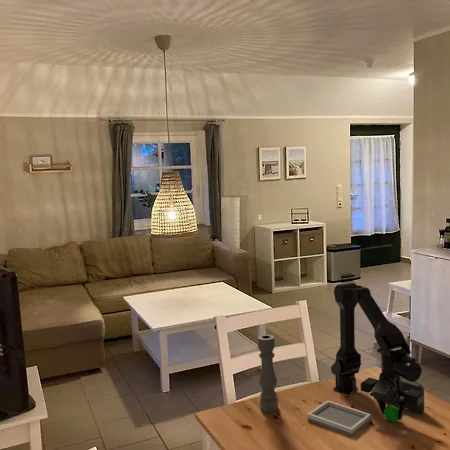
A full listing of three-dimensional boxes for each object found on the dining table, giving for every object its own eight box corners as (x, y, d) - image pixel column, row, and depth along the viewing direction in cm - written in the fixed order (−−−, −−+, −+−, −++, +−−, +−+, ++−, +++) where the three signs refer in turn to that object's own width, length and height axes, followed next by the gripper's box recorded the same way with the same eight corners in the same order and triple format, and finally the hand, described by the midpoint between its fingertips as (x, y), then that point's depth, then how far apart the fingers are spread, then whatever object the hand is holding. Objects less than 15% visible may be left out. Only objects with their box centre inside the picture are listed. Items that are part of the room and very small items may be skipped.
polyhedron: (398, 426, 154) (397, 411, 154) (382, 422, 157) (381, 408, 156) (401, 419, 158) (401, 404, 158) (386, 415, 161) (385, 401, 160)
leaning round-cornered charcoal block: (429, 410, 163) (429, 383, 162) (422, 415, 160) (422, 387, 159) (385, 395, 175) (385, 369, 174) (378, 399, 172) (377, 373, 171)
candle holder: (257, 411, 169) (254, 339, 166) (263, 402, 174) (260, 333, 172) (275, 413, 166) (272, 340, 164) (280, 405, 172) (277, 334, 169)
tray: (307, 420, 161) (307, 413, 160) (327, 406, 169) (327, 400, 169) (352, 436, 149) (351, 429, 149) (371, 420, 158) (371, 414, 158)
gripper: (351, 370, 156) (352, 418, 158) (409, 386, 143) (410, 437, 145) (368, 359, 164) (369, 405, 166) (424, 373, 151) (425, 422, 153)
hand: (391, 417), depth 157 cm, fingers closed on polyhedron, 5 cm apart
